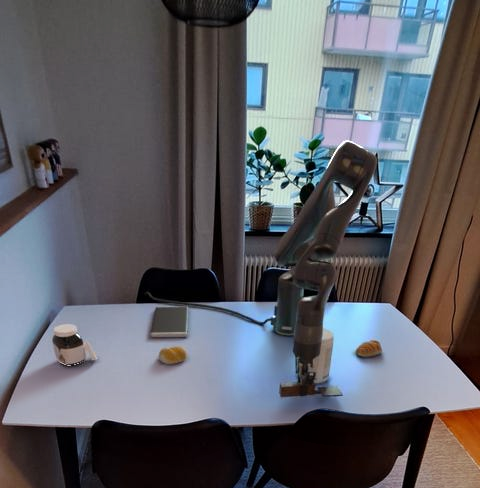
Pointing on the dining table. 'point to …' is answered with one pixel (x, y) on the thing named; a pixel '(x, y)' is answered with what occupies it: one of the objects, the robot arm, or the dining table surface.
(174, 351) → the bread roll
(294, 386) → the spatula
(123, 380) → the dining table surface
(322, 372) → the supplement tub
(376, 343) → the pastry
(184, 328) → the grey tablet slab
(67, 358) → the spread jar
